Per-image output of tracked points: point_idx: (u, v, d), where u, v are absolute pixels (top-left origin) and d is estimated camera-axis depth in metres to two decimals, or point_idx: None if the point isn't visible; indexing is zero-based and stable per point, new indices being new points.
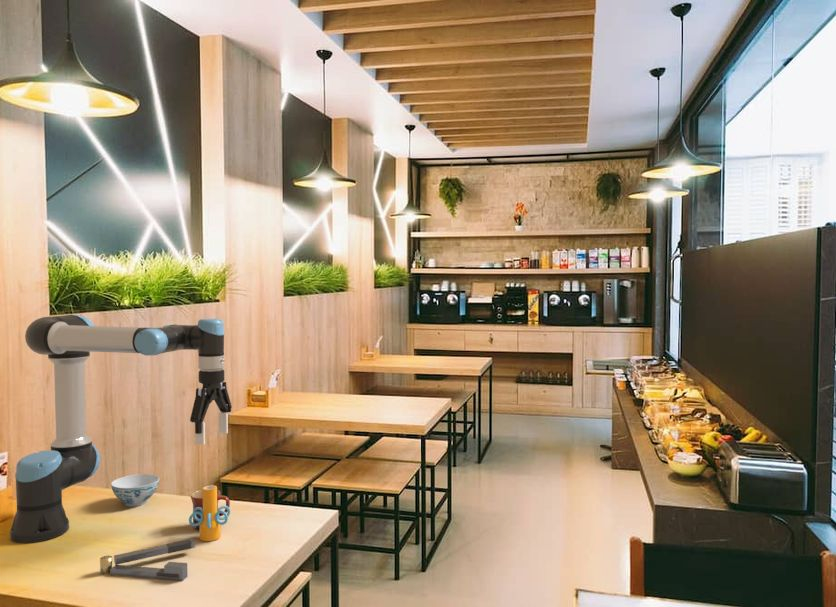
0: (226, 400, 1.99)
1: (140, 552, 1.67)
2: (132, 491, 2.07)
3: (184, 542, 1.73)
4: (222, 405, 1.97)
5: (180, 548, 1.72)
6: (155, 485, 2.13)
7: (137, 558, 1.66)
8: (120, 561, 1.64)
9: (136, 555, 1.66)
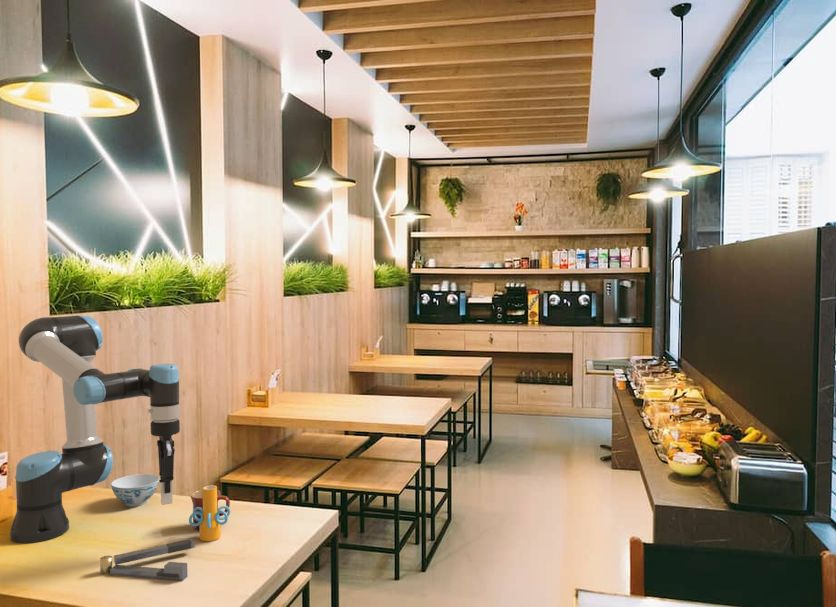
0: None
1: (140, 552, 1.67)
2: (132, 491, 2.07)
3: (184, 542, 1.73)
4: None
5: (180, 548, 1.72)
6: (155, 485, 2.13)
7: (137, 558, 1.66)
8: (120, 561, 1.64)
9: (136, 555, 1.66)
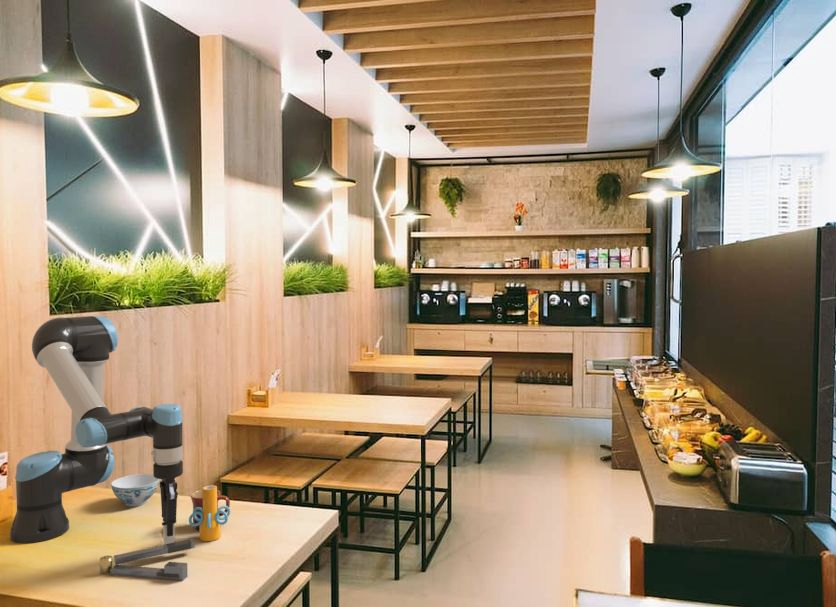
0: None
1: (140, 552, 1.67)
2: (132, 491, 2.07)
3: (184, 542, 1.73)
4: None
5: (180, 548, 1.72)
6: (155, 485, 2.13)
7: (137, 558, 1.66)
8: (120, 561, 1.64)
9: (136, 555, 1.66)
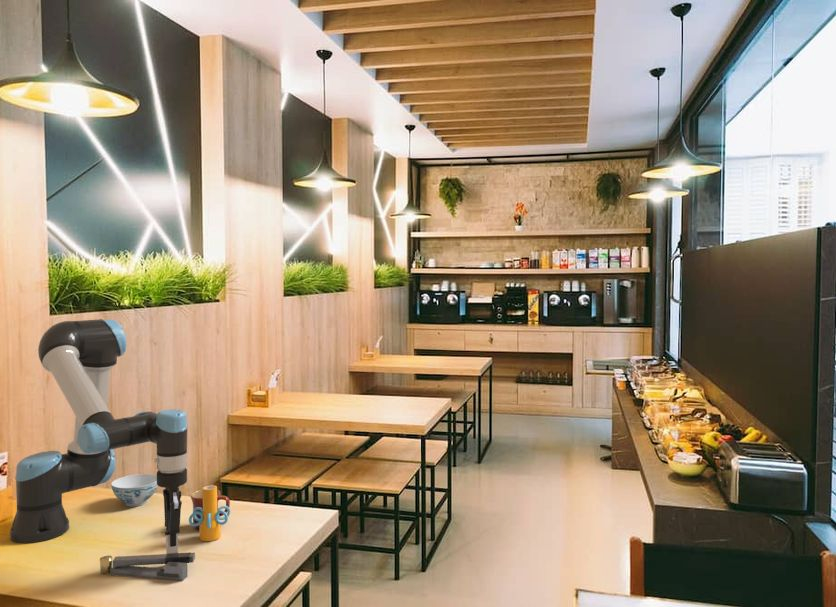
0: None
1: (138, 558, 1.63)
2: (132, 491, 2.07)
3: (183, 555, 1.65)
4: None
5: (177, 561, 1.64)
6: (155, 485, 2.13)
7: (134, 564, 1.63)
8: (117, 564, 1.62)
9: (133, 560, 1.63)
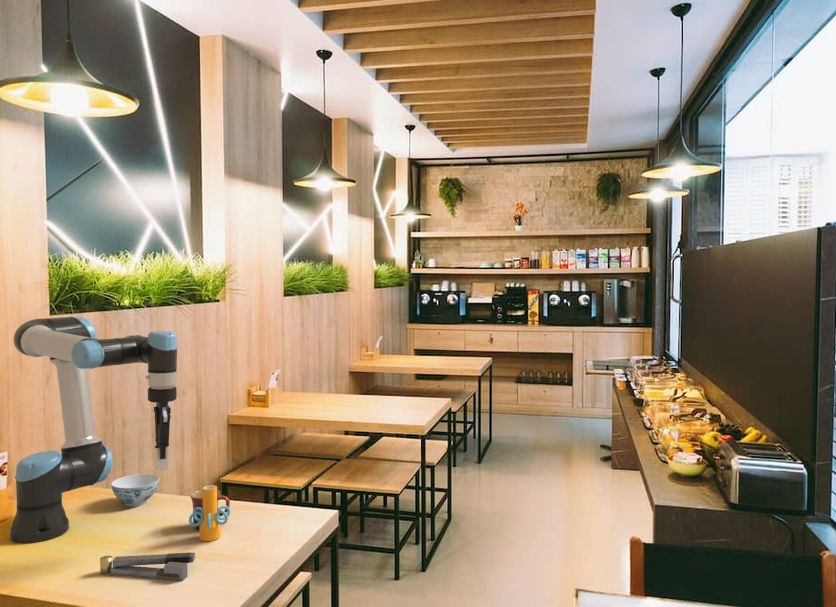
0: None
1: (138, 558, 1.63)
2: (132, 491, 2.07)
3: (183, 555, 1.65)
4: None
5: (177, 561, 1.64)
6: (155, 485, 2.13)
7: (134, 564, 1.63)
8: (117, 564, 1.62)
9: (133, 560, 1.63)
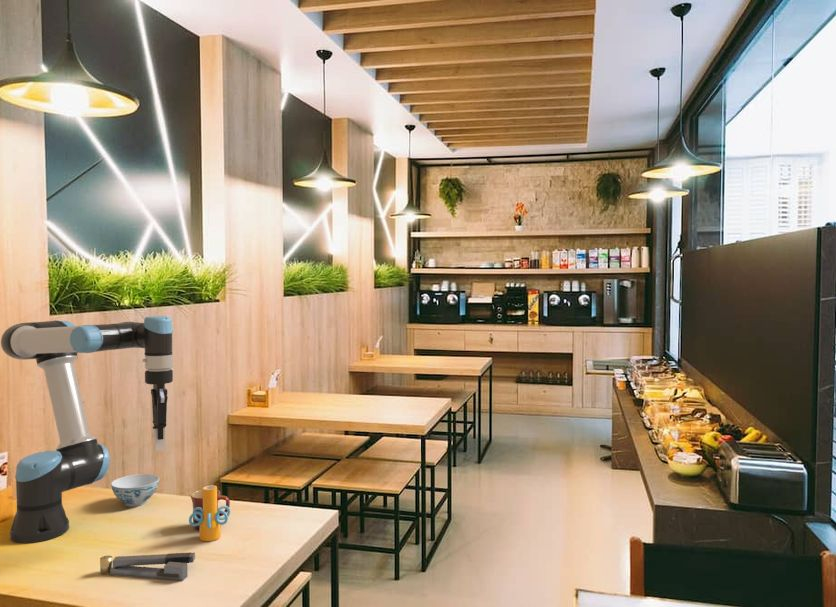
0: None
1: (138, 558, 1.63)
2: (132, 491, 2.07)
3: (183, 555, 1.65)
4: None
5: (177, 561, 1.64)
6: (155, 485, 2.13)
7: (134, 564, 1.63)
8: (117, 564, 1.62)
9: (133, 560, 1.63)
